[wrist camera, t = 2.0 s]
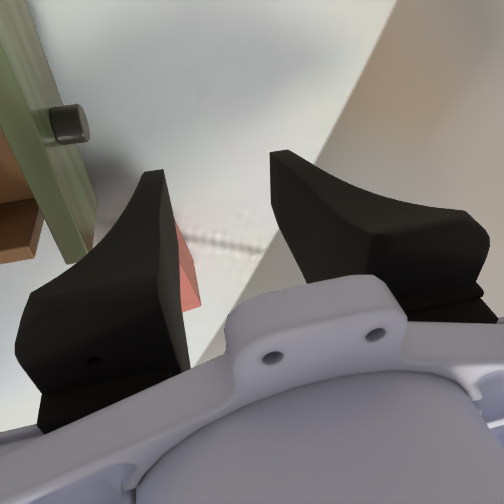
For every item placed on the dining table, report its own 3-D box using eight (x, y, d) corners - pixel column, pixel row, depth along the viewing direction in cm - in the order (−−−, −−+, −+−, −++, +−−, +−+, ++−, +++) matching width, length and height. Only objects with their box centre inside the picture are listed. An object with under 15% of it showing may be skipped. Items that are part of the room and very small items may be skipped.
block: (193, 260, 29) (201, 306, 26) (134, 279, 29) (135, 328, 26) (171, 213, 26) (178, 258, 23) (105, 234, 26) (102, 282, 23)
